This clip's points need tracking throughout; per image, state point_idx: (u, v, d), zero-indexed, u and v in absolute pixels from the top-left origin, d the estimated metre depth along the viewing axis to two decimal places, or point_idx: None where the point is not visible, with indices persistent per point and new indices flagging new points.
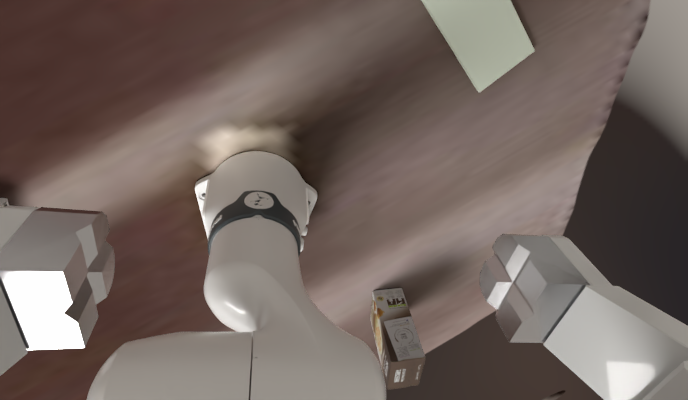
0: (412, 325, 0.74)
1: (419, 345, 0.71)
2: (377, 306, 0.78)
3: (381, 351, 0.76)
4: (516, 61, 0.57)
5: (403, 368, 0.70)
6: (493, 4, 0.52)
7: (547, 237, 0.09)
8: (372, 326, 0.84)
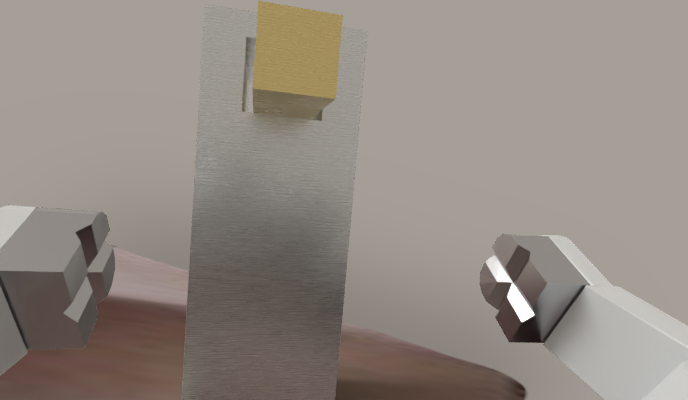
0: None
1: None
2: None
3: None
4: None
5: None
6: None
7: (547, 237, 0.09)
8: None
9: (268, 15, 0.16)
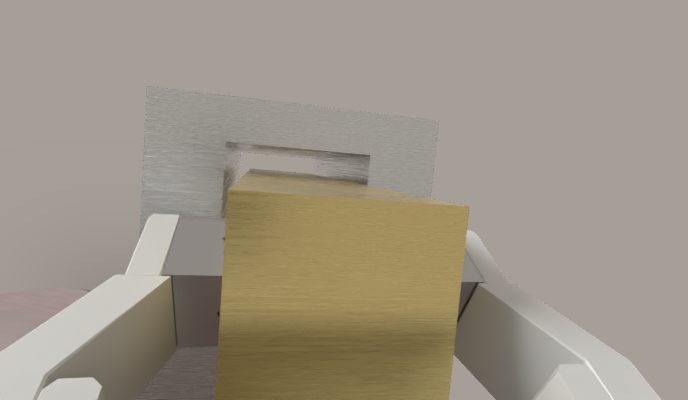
0: None
1: None
2: None
3: None
4: None
5: None
6: None
7: None
8: None
9: (258, 229, 0.05)
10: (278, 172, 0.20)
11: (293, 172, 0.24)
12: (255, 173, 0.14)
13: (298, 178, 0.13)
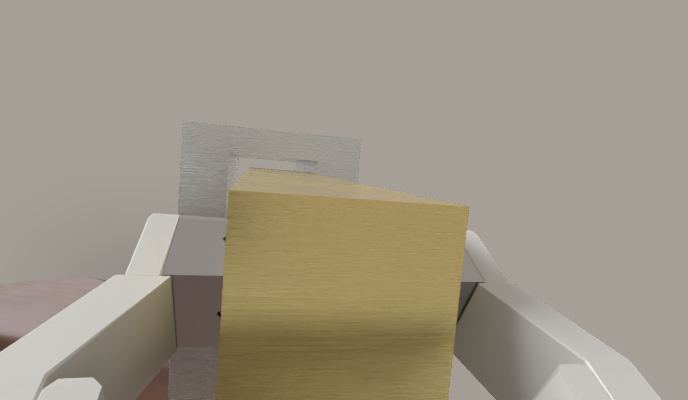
0: None
1: None
2: None
3: None
4: None
5: None
6: None
7: None
8: None
9: (259, 229, 0.05)
10: None
11: None
12: (254, 172, 0.14)
13: (297, 177, 0.13)
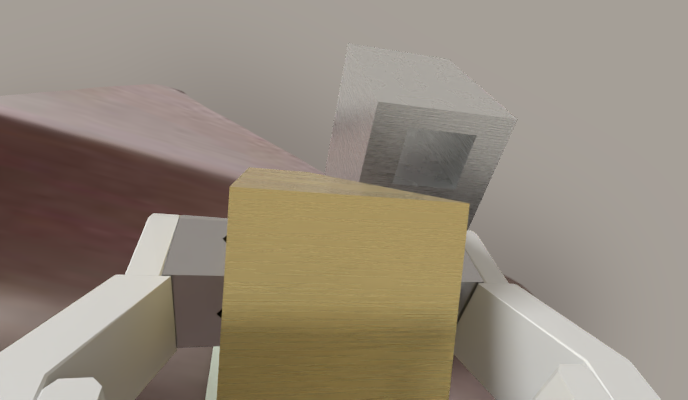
0: None
1: None
2: None
3: None
4: None
5: None
6: None
7: None
8: None
9: (260, 226, 0.05)
10: None
11: None
12: None
13: (297, 176, 0.13)
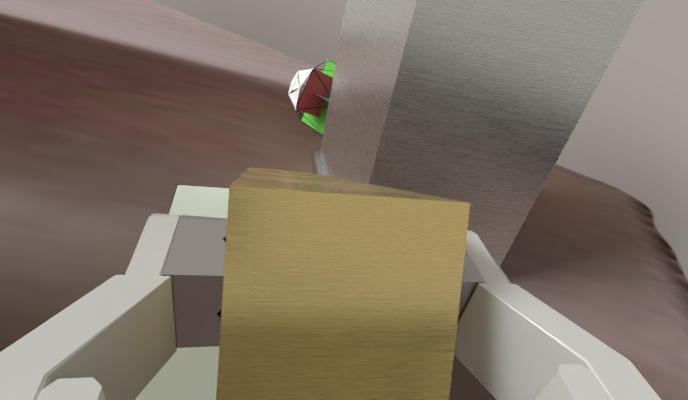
0: None
1: None
2: None
3: None
4: None
5: None
6: None
7: None
8: None
9: (260, 225, 0.05)
10: None
11: None
12: (254, 171, 0.14)
13: (297, 176, 0.13)
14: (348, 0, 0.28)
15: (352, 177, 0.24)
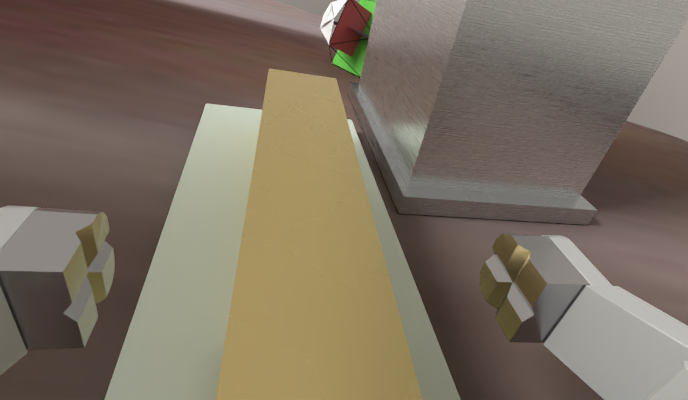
0: None
1: None
2: None
3: None
4: None
5: None
6: None
7: (547, 237, 0.09)
8: None
9: None
10: (296, 104, 0.17)
11: (317, 79, 0.21)
12: (263, 164, 0.13)
13: (307, 203, 0.11)
14: None
15: (415, 78, 0.20)
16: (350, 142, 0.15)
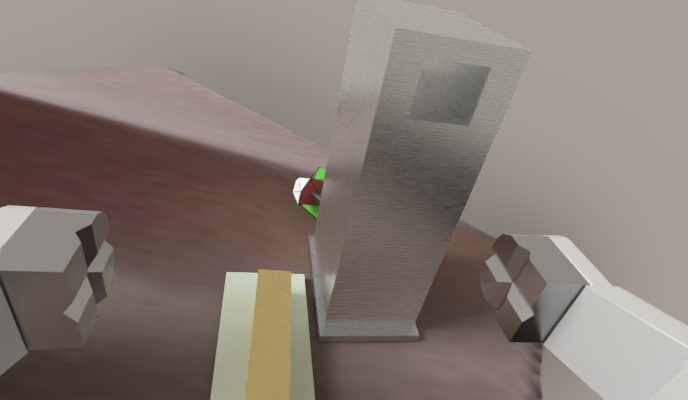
0: None
1: None
2: None
3: None
4: None
5: None
6: (291, 370, 0.38)
7: (547, 237, 0.09)
8: None
9: None
10: (269, 302, 0.40)
11: (281, 274, 0.43)
12: (253, 350, 0.35)
13: (268, 370, 0.34)
14: (328, 162, 0.46)
15: (327, 277, 0.42)
16: (289, 328, 0.37)
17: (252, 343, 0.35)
